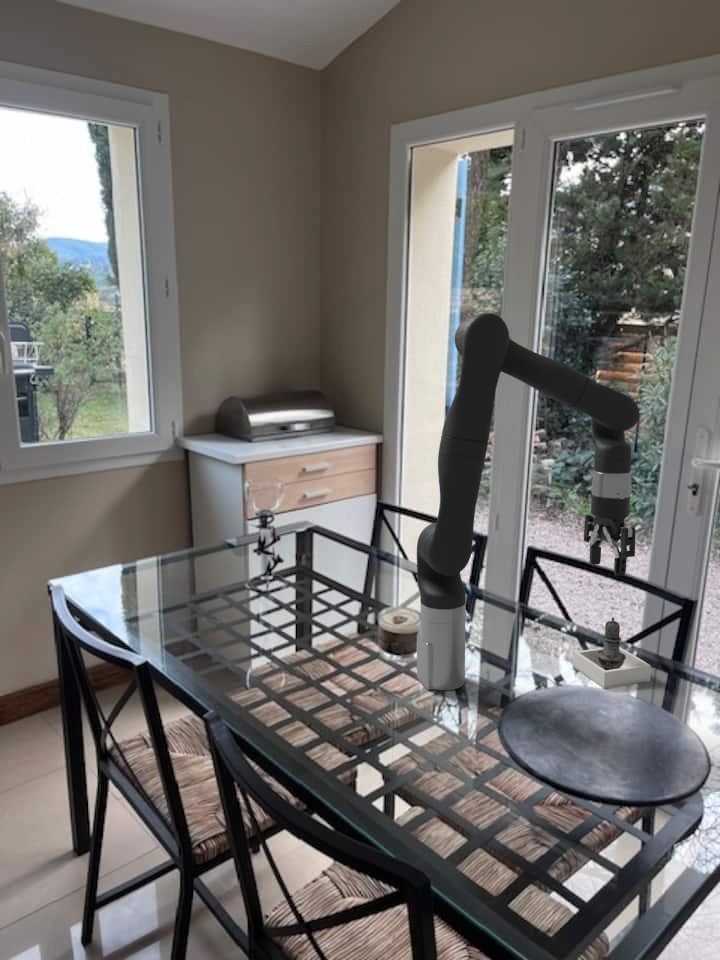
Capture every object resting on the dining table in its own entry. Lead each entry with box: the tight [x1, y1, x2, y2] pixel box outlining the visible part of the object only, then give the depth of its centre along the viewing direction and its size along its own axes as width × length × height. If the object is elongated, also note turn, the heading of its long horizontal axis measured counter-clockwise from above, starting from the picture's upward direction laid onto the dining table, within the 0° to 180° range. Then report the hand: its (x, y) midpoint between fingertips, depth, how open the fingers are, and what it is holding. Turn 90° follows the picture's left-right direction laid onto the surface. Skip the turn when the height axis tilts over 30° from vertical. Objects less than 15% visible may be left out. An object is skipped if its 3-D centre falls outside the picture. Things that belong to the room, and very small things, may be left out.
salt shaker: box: [597, 616, 626, 670], centre depth 151 cm, size 6×6×12 cm
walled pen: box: [572, 646, 652, 689], centre depth 152 cm, size 11×11×4 cm
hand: (606, 569), depth 150 cm, fingers open, 8 cm apart
